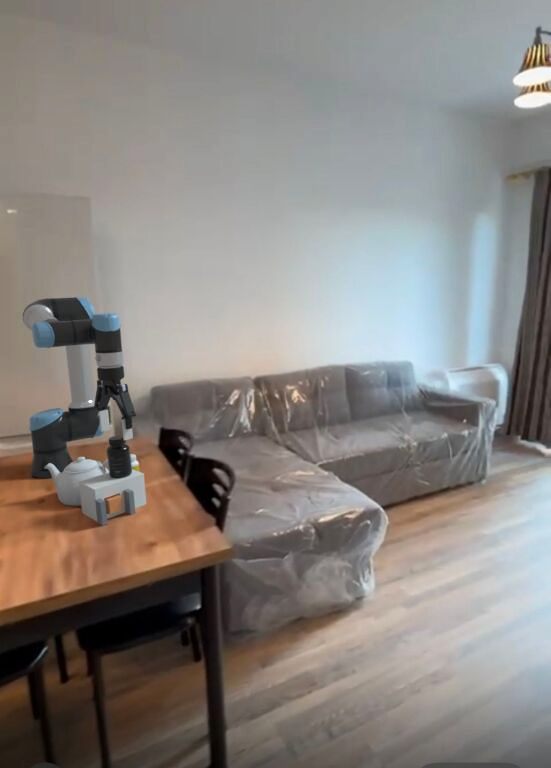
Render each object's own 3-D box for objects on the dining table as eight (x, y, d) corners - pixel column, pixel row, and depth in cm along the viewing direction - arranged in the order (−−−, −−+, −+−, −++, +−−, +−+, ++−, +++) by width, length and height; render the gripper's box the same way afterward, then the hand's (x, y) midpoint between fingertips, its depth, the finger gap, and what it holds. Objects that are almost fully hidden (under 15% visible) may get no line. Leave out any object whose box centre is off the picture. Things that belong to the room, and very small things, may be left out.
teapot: (72, 514, 146) (67, 471, 144) (46, 498, 159) (41, 459, 156) (127, 494, 160) (124, 455, 157) (100, 481, 172) (96, 444, 170)
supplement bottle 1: (112, 471, 153) (108, 434, 151) (134, 470, 153) (130, 433, 151) (106, 479, 146) (102, 441, 144) (129, 478, 147) (126, 439, 144)
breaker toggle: (97, 507, 146) (96, 494, 145) (110, 502, 149) (108, 490, 148) (110, 514, 141) (109, 501, 140) (122, 509, 144) (121, 496, 143)
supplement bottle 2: (142, 479, 172) (140, 453, 171) (136, 485, 167) (134, 458, 165) (128, 479, 173) (125, 453, 171) (121, 485, 168) (119, 458, 166)
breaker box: (81, 513, 147) (78, 481, 145) (129, 496, 158) (126, 466, 157) (102, 525, 138) (99, 492, 136) (151, 506, 150) (149, 475, 148)
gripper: (78, 363, 149) (85, 430, 153) (120, 372, 133) (127, 446, 137) (101, 360, 155) (107, 424, 159) (144, 368, 138) (150, 439, 142)
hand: (116, 434), depth 148 cm, fingers open, 13 cm apart
